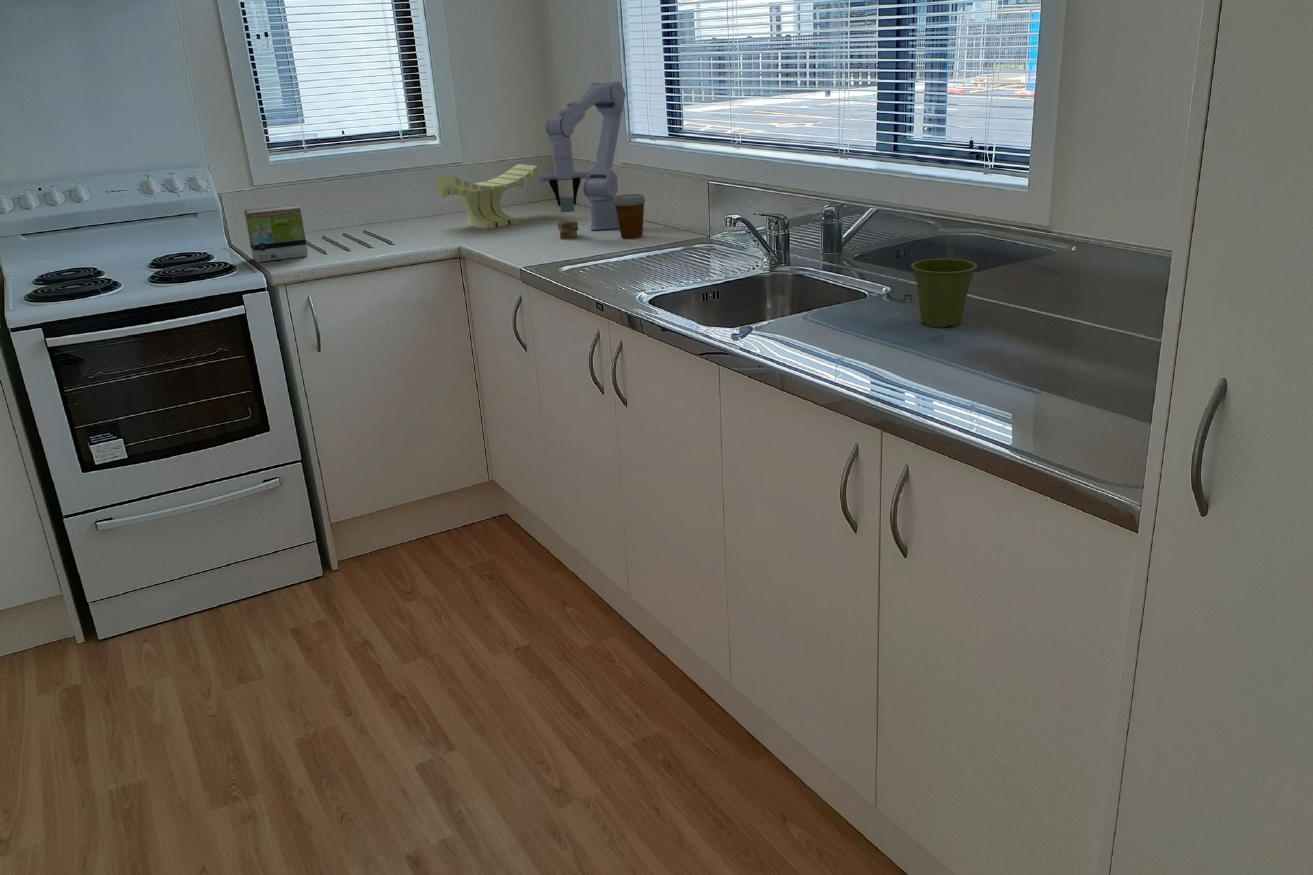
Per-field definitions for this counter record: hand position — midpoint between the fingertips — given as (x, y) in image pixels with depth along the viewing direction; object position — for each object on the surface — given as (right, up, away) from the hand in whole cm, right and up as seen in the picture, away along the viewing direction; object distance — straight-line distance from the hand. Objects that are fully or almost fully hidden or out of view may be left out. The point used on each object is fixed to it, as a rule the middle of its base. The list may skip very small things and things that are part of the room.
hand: (567, 205), depth 304 cm
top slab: (0, -7, +4) cm, 8 cm away
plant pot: (+81, -48, -111) cm, 146 cm away
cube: (0, -2, 0) cm, 2 cm away
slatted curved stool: (-29, +2, +39) cm, 48 cm away
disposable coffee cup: (+19, -10, -2) cm, 22 cm away
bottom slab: (0, -9, +5) cm, 10 cm away
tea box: (-87, -16, +3) cm, 88 cm away
